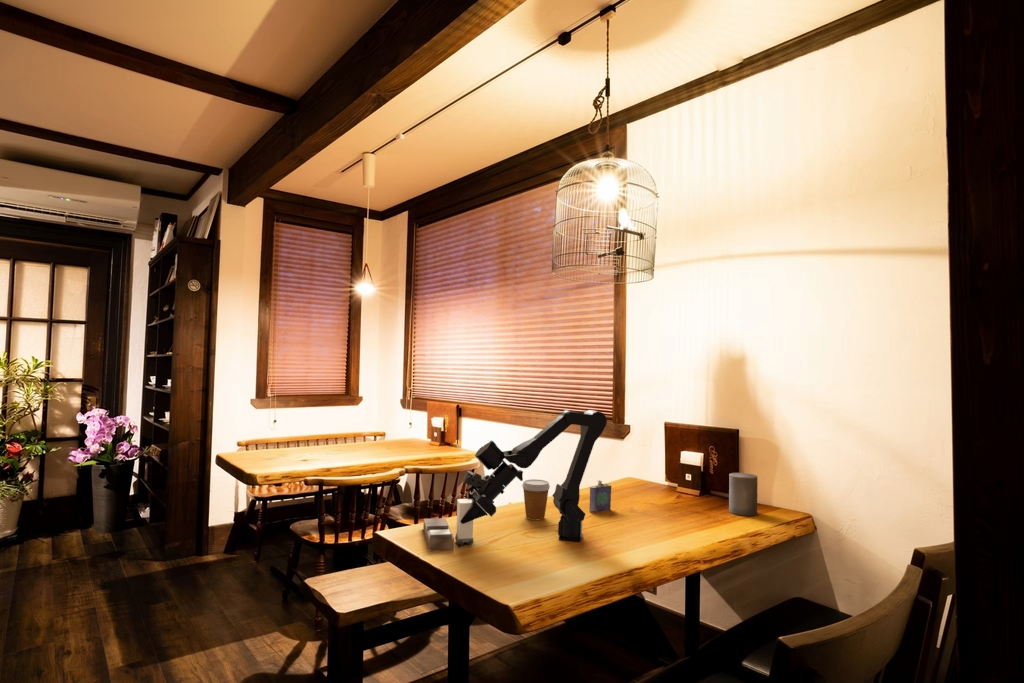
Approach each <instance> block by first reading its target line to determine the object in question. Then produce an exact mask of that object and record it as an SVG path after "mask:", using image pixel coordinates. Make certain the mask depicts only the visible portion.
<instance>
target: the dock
mask: <svg viewBox="0 0 1024 683" xmlns="http://www.w3.org/2000/svg"><path fill="white" fill-rule="evenodd" d="M423 533H424V536H425V540H426V545H427V547H428V551H430V550H432V551H446V550H447V551H449V550H450V549H452V550H455V537H454V535H453V532H452V530H451V528H450V525H449V524H448V521H447V518H446V517H440V518H439V517H438V518H437V517H436V518H423ZM430 552H431V551H430Z"/></svg>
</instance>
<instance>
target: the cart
mask: <svg viewBox="0 0 1024 683" xmlns="http://www.w3.org/2000/svg"><path fill="white" fill-rule="evenodd" d="M456 502H457V503H456V532H455V537H454V540H456V543H457V545H458V546H462V545H464V543H466V544H467V545H469V546H470V545H473V544H474V541H475V540H474V520H472V521H469V522H467V523H464V524H462V523H461V522H460V521H461V519H462V518H463V516H464V515H465V514H466V512H467V511H468V510H469V508H470V507H471V505H472V500H471V499H467V498H457V501H456Z"/></svg>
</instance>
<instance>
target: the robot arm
mask: <svg viewBox="0 0 1024 683" xmlns="http://www.w3.org/2000/svg"><path fill="white" fill-rule="evenodd" d="M607 424H608V419H607V417H606V414H604V413H603V412H601V411H599V410H593V409H588V410H586V411H584V412H583V411H571V410H567V409H565V410H563V411H562V412H561V413H560V414H559V415H558V416H557V417H556V418H555V419H553V420H552V421H551V422H550V423H549V424H547V425H546V426H545V427H544V428H542V430H540V431H539V432H538V433H537V434H535V435H534V436H533V437H532V438H530V439H528V440H526V441H523V442H521V443H520V444H518V445H516V446H514V447H513V448H512V449H510V450H503V451H502V450H501V449H500V448H499V447H498V445H497V443H496V442H495V441H493V440H490V441H489V442H487V443H485V444H484V445H483V446H481V447H479V449H478V450H477V452H475V455H474V457H475V458H476V459H477V460H478V461H479V462H480V463H481V464H482V466H484V467H485V468H486V469H487V470H488V471H491V470H492V471H493V472H492V473H491V474H490V475H489V474H487V475H485V476H484V477H483V476H482V475H481V474H480V473H477V472H472V471H470V470H466V472H465V474H464V476H463V479H462V481H463V483H464V484H466V485H467V487H466V489H467V491H466V494H467V495H466V496H467V497H466V499H471V500H472V505H471V507H470V508H469V510H468V511H467V512H466V514H465V515H464V516H463V518H462V519H461V521H460V522H461V523H462V524H464V523H467V522H469V521H472V520H473V521H474V520H477V519H479V518H481V517H484V516H488V515H489V516H490V517H491V518H492V517H493V516H494V515H495V514H496V512H497V507H496V505H495V504H494V503H495V501H494V500H495V499H497V497H498V496H499V495H500V494H501V495H503V494H504V493H505V491H504V490H505V489H506V488H507V487H508V486H509V485H510V483H512V481H514V480H515V478H517V479H518V480H519V481H520V482H522V481H524V479H523V478H524V477H523V474H524V471H523V470H522V469H528V468H529V467H531V466H532V465H533V464H534V462H536V460H537V458H538V457H539V455H540V453H541V452H542V450H543V449H544V448H545V447H547V446H548V445H549V444H550V443H551V442H553V441H554V440H555V439H556V438H557V437H558V436H560V435H561V434H562V433H563V432H564V431H566V430H567V429H568V428H569V427H570V426H571V425H575V426H579V427H580V437H579V441H578V442H577V446H576V449H575V451H574V454H573V457H572V461H571V463H570V466H569V469H568V471H567V475H566V477H565V480H564V481H563V482H562V484H559V483H556V485H555V489H554V493H553V494H552V495H551V496H552V497H553V498H552V499H553V500H552V501H553V504H554V505H553V506H554V507H555V508H556V509H557V510H558V512H559V515H561V516H560V519H559V520H558V523H557V524H558V525H557V529H558V530H557V534H558V535H557V536H558V540H560V539H562V540H563V541H571V542H581V541H582V538H583V537H584V534H583V521H584V520H585V517H586V513H585V512H584V511H583V509H581V507H580V506H579V502H580V497H581V496H580V486H581V483H582V480H583V477H584V474H585V472H586V469H587V465H588V463H589V460H590V457H591V454H592V451H593V449H594V445H595V442H596V441H597V440H598V439H599V438H600V436H601V435H602V434H603V432H604V430H605V428H606V426H607ZM504 459H505V460H506V461H507V462H508V463H510V464H508V463H507V462H506V461H505V460H504ZM513 464H514V465H515V466H514V465H513ZM516 466H517V467H518V468H520V470H518V468H516ZM562 540H561V541H562Z"/></svg>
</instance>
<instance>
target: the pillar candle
mask: <svg viewBox="0 0 1024 683" xmlns="http://www.w3.org/2000/svg"><path fill="white" fill-rule="evenodd" d="M728 476H729V477H728V478H729V481H728V482H729V483H728V484H729V485H728V486H729V487H728V488H729V489H728V495H729V496H728V512H729V513H730V514H733V515H737V516H743V517H745V516H746V517H755V516H758V475H756V474H752V473H745V471H743V472H731V473H729V474H728Z"/></svg>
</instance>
